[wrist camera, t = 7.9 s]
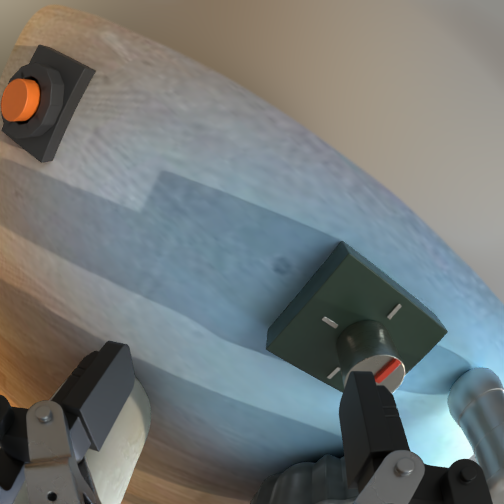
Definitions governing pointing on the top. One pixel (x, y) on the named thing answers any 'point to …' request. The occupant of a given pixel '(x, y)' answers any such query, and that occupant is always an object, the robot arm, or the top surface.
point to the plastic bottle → (482, 423)
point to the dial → (370, 354)
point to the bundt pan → (308, 484)
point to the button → (20, 100)
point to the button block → (49, 101)
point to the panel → (350, 316)
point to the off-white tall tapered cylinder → (116, 449)
